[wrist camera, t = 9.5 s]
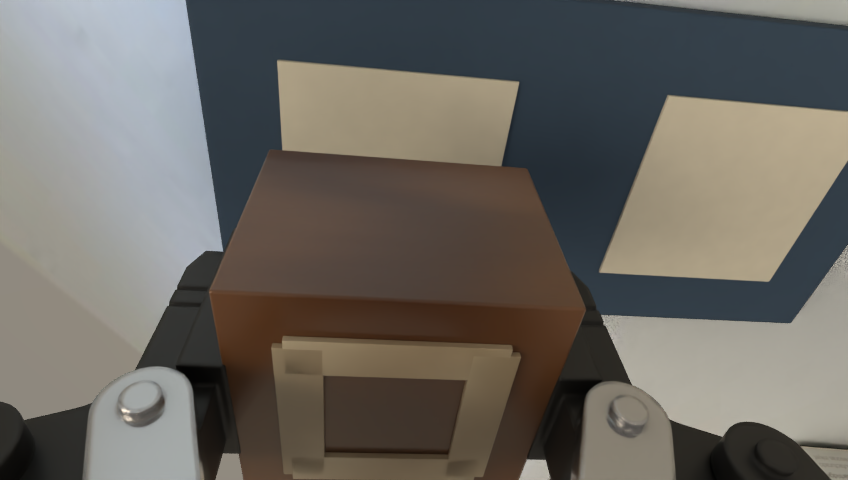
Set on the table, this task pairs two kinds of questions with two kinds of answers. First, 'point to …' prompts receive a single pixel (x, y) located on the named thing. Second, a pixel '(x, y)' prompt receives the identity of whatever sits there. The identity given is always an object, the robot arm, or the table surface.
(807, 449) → the ink box
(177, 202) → the table surface
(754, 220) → the word mat
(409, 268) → the tile
